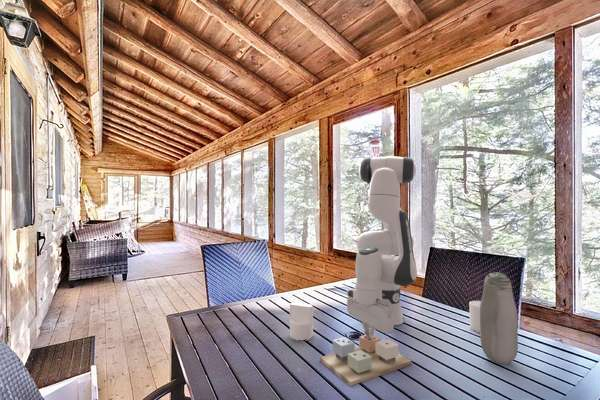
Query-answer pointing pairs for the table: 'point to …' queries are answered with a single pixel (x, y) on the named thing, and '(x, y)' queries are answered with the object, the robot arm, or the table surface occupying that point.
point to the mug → (475, 315)
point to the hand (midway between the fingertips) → (369, 336)
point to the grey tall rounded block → (498, 319)
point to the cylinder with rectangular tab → (301, 321)
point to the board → (352, 377)
